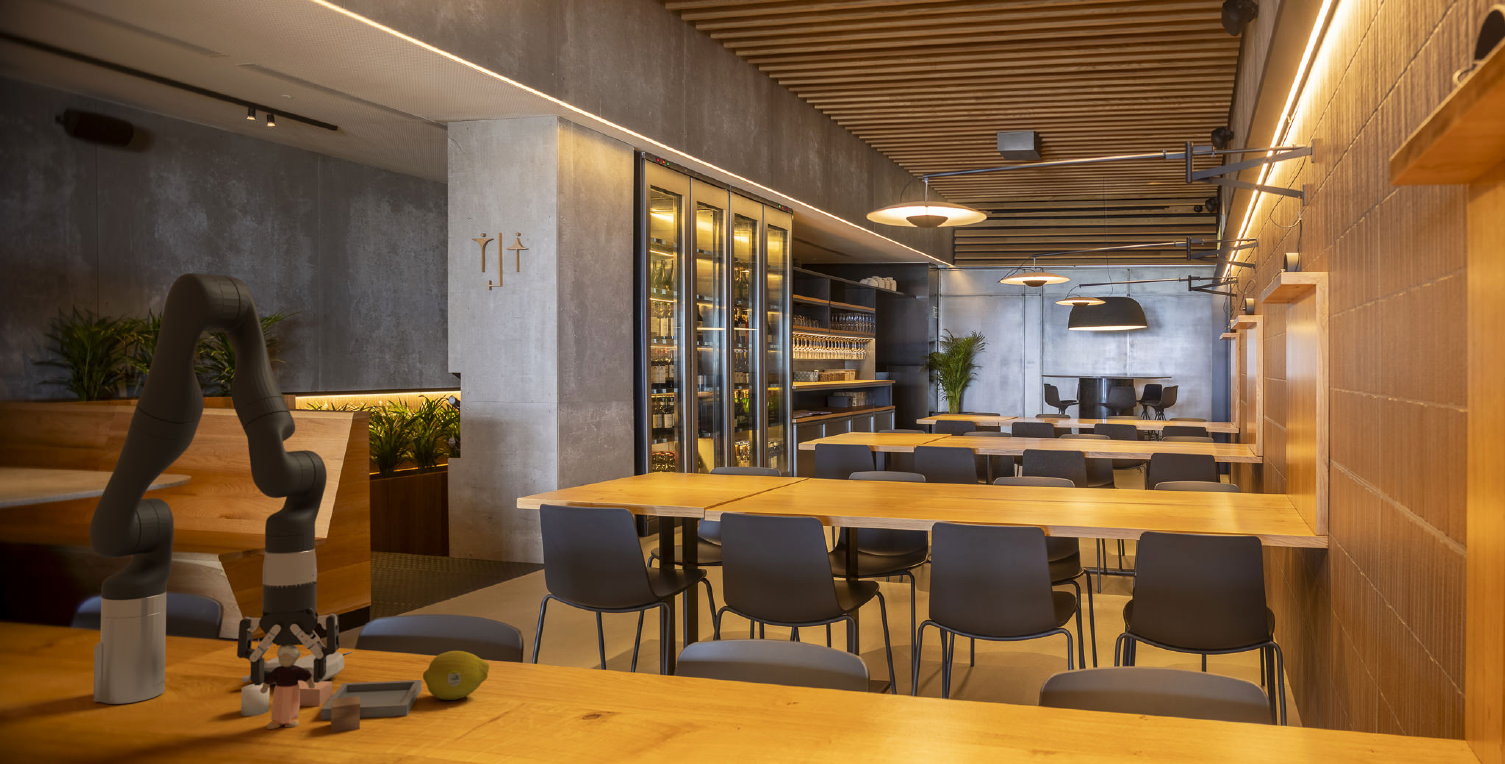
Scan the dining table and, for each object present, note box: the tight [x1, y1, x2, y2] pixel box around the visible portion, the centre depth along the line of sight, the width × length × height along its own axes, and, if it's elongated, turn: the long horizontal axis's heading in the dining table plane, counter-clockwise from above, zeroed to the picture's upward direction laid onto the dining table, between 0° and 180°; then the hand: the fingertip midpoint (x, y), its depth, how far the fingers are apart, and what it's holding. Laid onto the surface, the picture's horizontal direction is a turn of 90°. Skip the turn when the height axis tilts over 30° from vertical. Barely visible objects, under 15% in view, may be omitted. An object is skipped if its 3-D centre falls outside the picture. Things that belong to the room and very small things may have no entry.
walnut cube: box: [330, 696, 361, 734], centre depth 142 cm, size 4×4×4 cm
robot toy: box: [241, 651, 353, 685], centre depth 164 cm, size 12×4×15 cm
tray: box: [320, 679, 423, 721], centre depth 153 cm, size 13×13×2 cm
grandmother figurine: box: [260, 644, 315, 730], centre depth 143 cm, size 8×4×13 cm, turn 117°
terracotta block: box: [298, 680, 333, 707], centre depth 154 cm, size 6×4×3 cm, turn 86°
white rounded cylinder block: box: [240, 682, 271, 717], centre depth 148 cm, size 4×4×4 cm
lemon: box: [422, 650, 490, 701], centre depth 156 cm, size 11×8×8 cm
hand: (288, 682), depth 143 cm, fingers open, 8 cm apart
